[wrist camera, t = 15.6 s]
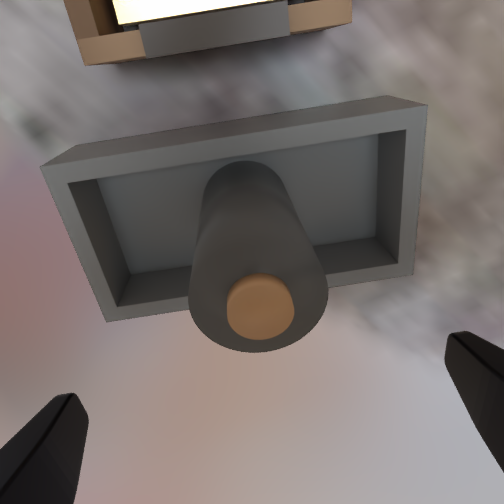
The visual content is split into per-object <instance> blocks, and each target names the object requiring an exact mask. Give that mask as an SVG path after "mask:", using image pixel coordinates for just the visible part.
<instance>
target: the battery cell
mask: <svg viewBox="0 0 504 504" xmlns="http://www.w3.org/2000/svg"><path fill="white" fill-rule="evenodd" d="M327 300H328V283H327V279H326V275H325V273H324V271H323V269H322V266H321V264H320V262H319V260H318V258H317V256H316V253H315V251H314V249H313V247H312V245H311V243H310V240H309V238H308V236H307V234H306V232H305V229H304V227H303V225H302V223H301V221H300V219H299V216H298V214H297V212H296V210H295V208H294V206H293V203H292V201H291V199H290V197H289V195H288V193H287V190H286V188H285V186H284V184H283V182H282V180H281V179H280V177H279V176H278V175H277V174H276V172H274V171H273V170H272V169H271V168H269V167H268V166H266V165H264V164H262V163H258V162H255V161H237V162H233V163H230V164H227V165H225V166H223V167H222V168H220V169H219V170H218V171H217V172H215V173H214V174H213V176H212V177H211V178H210V179H209V181H208V183H207V185H206V187H205V190H204V194H203V200H202V207H201V213H200V220H199V226H198V233H197V239H196V246H195V252H194V259H193V265H192V272H191V278H190V285H189V292H188V305H189V310H190V313H191V316H192V318H193V320H194V322H195V324H196V325H197V326H198V328H199V329H200V330H201V331H202V332H203V333H204V334H205V335H206V336H207V337H208V338H210V339H211V340H212V341H214V342H216V343H217V344H219V345H221V346H224V347H226V348H229V349H232V350H236V351H241V352H250V353H251V352H252V353H255V352H267V351H272V350H277V349H280V348H283V347H286V346H288V345H291V344H292V343H294V342H296V341H298V340H300V339H301V338H302V337H303V336H305V335H306V334H307V333H308V332H310V331H311V330H312V329H313V328H314V326H315V325H316V324H317V323H318V321H319V320H320V319H321V317H322V315H323V313H324V311H325V308H326V305H327Z"/></svg>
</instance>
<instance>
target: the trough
mask: <svg viewBox="0 0 504 504" xmlns="http://www.w3.org/2000/svg"><path fill="white" fill-rule="evenodd" d="M427 110H428V105H425V104H421V103H417V102H413V101H409V100H404V99H400V98H396V97H392V96H382V97H376V98H369V99H363V100H357V101H351V102H344V103H338V104H332V105H325V106H319V107H313V108H307V109H300V110H294V111H288V112H282V113H275V114H269V115H263V116H257V117H250V118H244V119H238V120H232V121H225V122H219V123H213V124H207V125H200V126H194V127H188V128H182V129H175V130H169V131H163V132H157V133H150V134H144V135H138V136H131V137H125V138H119V139H113V140H106V141H100V142H94V143H88V144H81V145H76V146H74V147H72V148H71V149H69V150H67V151H66V152H64V153H62V154H61V155H59V156H57V157H56V158H54V159H52V160H50V161H49V162H47V163H45V164H44V165H42V166H40V169H41V171H42V174H43V176H44V178H45V181H46V183H47V185H48V188H49V190H50V192H51V195H52V197H53V199H54V202H55V204H56V206H57V209H58V211H59V213H60V216H61V217H62V220H63V223H64V225H65V227H66V229H67V232H68V234H69V236H70V239H71V241H72V243H73V246H74V248H75V251H76V253H77V255H78V258H79V260H80V262H81V265H82V267H83V269H84V271H85V273H86V276H87V278H88V281H89V283H90V285H91V288H92V290H93V292H94V295H95V297H96V299H97V302H98V304H99V306H100V309H101V311H102V313H103V315H104V318H105V320H106V322H112V321H118V320H124V319H130V318H137V317H144V316H150V315H157V314H163V313H169V312H176V311H182V310H189V305H188V292H189V285H190V278H191V272H192V265H193V259H194V252H195V246H196V239H197V233H198V226H199V220H200V213H201V207H202V200H203V194H204V190H205V187H206V185H207V183H208V181H209V179H210V178H211V177H212V176H213V174H214V173H215V172H217V171H218V170H219V169H220V168H222V167H223V166H225V165H227V164H230V163H233V162H237V161H255V162H258V163H262V164H264V165H266V166H268V167H269V168H271V169H272V170H273V171H274V172H276V174H277V175H278V176H279V177H280V179H281V180H282V182H283V184H284V186H285V188H286V190H287V193H288V195H289V197H290V199H291V201H292V203H293V206H294V208H295V210H296V212H297V214H298V216H299V219H300V221H301V223H302V225H303V227H304V229H305V232H306V234H307V236H308V238H309V240H310V243H311V245H312V247H313V249H314V251H315V253H316V256H317V258H318V260H319V262H320V264H321V266H322V269H323V271H324V273H325V275H326V279H327V283H328V288H331V287H337V286H343V285H350V284H356V283H363V282H369V281H376V280H382V279H388V278H395V277H401V276H408V275H413V270H414V259H415V247H416V236H417V224H418V213H419V202H420V190H421V179H422V167H423V156H424V144H425V133H426V121H427Z"/></svg>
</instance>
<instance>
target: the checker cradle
mask: <svg viewBox="0 0 504 504" xmlns="http://www.w3.org/2000/svg"><path fill="white" fill-rule="evenodd" d="M64 3H65V7H66V10H67V13H68V16H69V19H70V22H71V25H72V28H73V31H74V34H75V37H76V40H77V44H78V47H79V50H80V53H81V56H82V59H83V62H84V65H85V66H87V65H103V64H116V63H122V62H128V61H135V60H141V59H149V58H155V57H162V56H168V55H174V54H180V53H186V52H193V51H199V50H205V49H211V48H217V47H223V46H230V45H236V44H242V43H248V42H254V41H261V40H267V39H273V38H279V37H285V36H290V35H295V34H302V33H308V32H314V31H320V30H326V29H329V28H333V27H337V26H341V25H344V24H348V23H352V0H305V3H300V4H294V5H288V1H281V2H274V3H268V4H262V5H256V6H250V7H244V8H237V9H231V10H225V11H219V12H213V13H207V14H201V15H194V16H188V17H182V18H176V19H170V20H164V21H157V22H151V23H145V24H139V25H138V26H139V30H134V31H128V32H124V29H123V25H119V22H118V19H117V15H116V11H115V7H114V4H113V0H64Z"/></svg>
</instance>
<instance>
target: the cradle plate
mask: <svg viewBox="0 0 504 504" xmlns="http://www.w3.org/2000/svg"><path fill="white" fill-rule="evenodd" d="M279 1H285V0H113V4H114V7H115V11H116V15H117V19H118V22H119V25H123V26H131V25H137V24H143V23H149V22H155V21H162V20H168V19H174V18H180V17H186V16H192V15H199V14H205V13H211V12H217V11H223V10H229V9H235V8H242V7H248V6H254V5H260V4H266V3H272V2H279Z"/></svg>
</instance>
